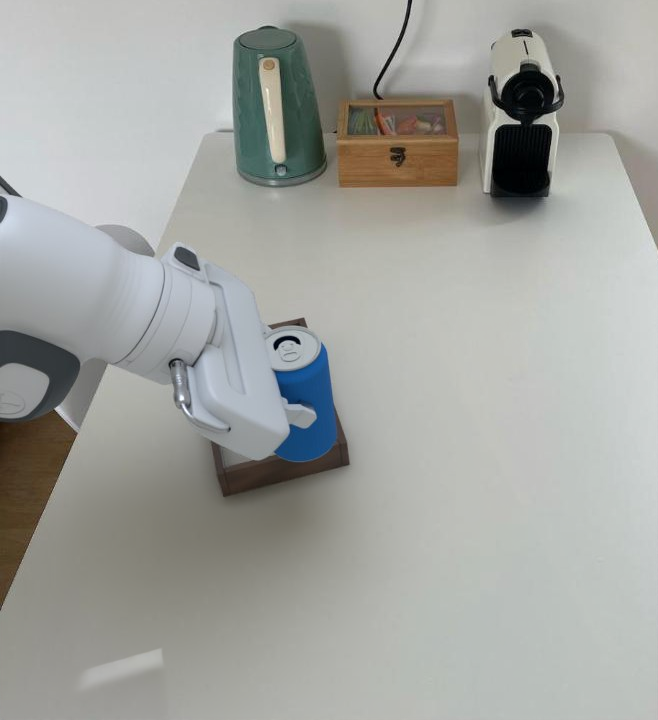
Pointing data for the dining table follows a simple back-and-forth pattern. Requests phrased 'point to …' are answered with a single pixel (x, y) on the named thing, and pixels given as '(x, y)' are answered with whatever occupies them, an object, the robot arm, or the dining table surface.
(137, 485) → the dining table surface
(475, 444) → the dining table surface
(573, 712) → the dining table surface
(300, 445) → the beverage can
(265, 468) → the tray
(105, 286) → the robot arm
